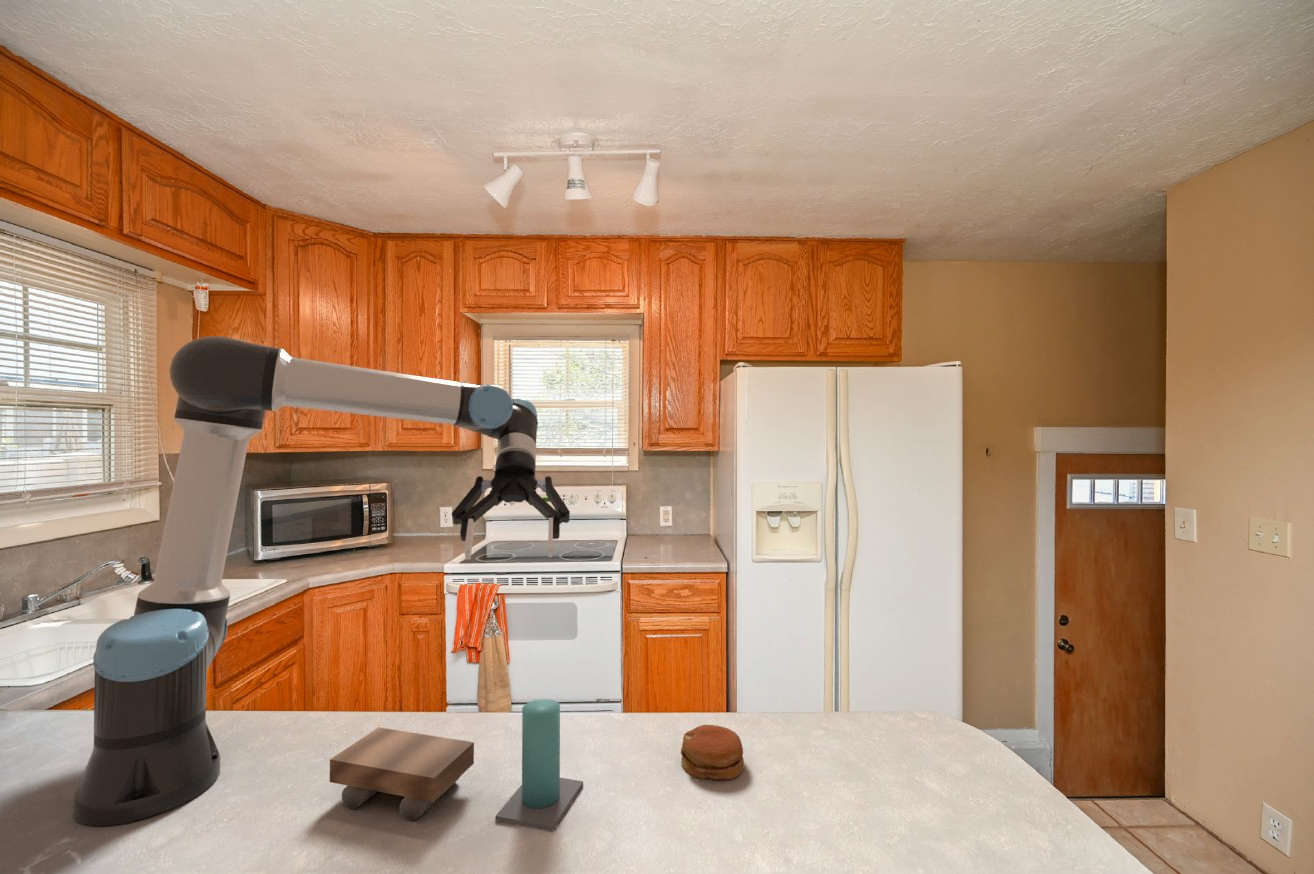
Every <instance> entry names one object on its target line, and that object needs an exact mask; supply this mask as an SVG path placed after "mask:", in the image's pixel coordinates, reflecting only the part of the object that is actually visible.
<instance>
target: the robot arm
mask: <svg viewBox="0 0 1314 874" xmlns="http://www.w3.org/2000/svg"><path fill="white" fill-rule="evenodd" d="M169 378H170V383H171V385H172V387H173V388H174V391H175V392H176V393H177V395H178V397H177V401H176V402H177V403H176V408H175V413H174V416H173V420H174V422H175V423H176V424H177V425H178V426H179V427H180V428H181V429H182V431H183V436H182V440H181V446H180V450H179V455H178V461H177V465H176V469H175V475H174V479H173V485H172V489H171V494H170V498H169V502H168V503H169V504H168V510H167V514H166V518H165V524H164V529H163V533H162V537H161V544H160V549H159V553H158V558H157V563H156V567H155V573H154V578H153V581H152V583H151V584H149V585H147V586H146V587H145V588H143V589H142V590H140V591H139V592H138V593H137V599H136V604H135V608H134V612H133V615H132V616H130V617H129V618H126V619H121V620H119V621H116V622H115V623H113V624H111V625H110V626H108V627H106V629H104V630H103V631H102V632H101V634H100V635H99V636H98V638H97V640H96V644H95V645H96V646H95V651H94V653H93V657H92V659H93V662H92V663H93V664H92V665H93V667H94V693H93V694H94V695H93V697H94V699H93V701H94V703H93V704H94V705H93V748H92V751H91V755H90V757H89V759H88V762H87V764H86V767H85V769H84V772H83V774H82V777H81V780H80V783H79V785H78V787H77V789H76V790H75V793H74V797H73V817H74V819H75V821H77V822H78V823H79V824H82V825H87V826H93V827H94V826H95V827H98V826H99V827H101V826H103V827H104V826H114V825H115V826H116V825H121V824H126V823H131V822H136V821H139V820H143V819H147V818H151V817H153V816H156V815H159V814H162V813H164V812H167V811H170V810H172V809H174V808H175V809H176V807H179V806H181V805H183V804H186V803H187V802H189V801H190V800H193V799H194V798H196V797H198V796H199V795H201V794H202V793H203V792H205V791H206V790H208V789H209V788H210V787H212V785H213V784H215V782H216V781H217V780H218V778H219V776H220V773H221V756H220V755H221V754H220V752H219V750H218V747H217V745H216V742H215V739H214V738H213V736H212V733H211V731H210V729H209V726H208V724H207V720H206V715H207V712H206V711H207V675H208V670H209V668H210V666H211V664H212V662H213V660H214V659H215V657H216V655H217V654H218V653H219V651H220V650H221V648H222V645H223V644H224V642H225V640H226V637H227V633H228V619H227V614H228V608H229V604H230V599H231V590H229V588H227V587H226V586H225V585H224V584H223V582H222V581H223V575H224V571H225V565H226V560H227V555H228V551H229V546H230V545H229V544H230V539H231V536H232V535H231V533H232V529H233V524H234V519H235V518H234V517H235V513H236V508H237V505H238V504H237V503H238V500H239V499H238V497H239V493H240V489H241V483H242V477H243V472H244V467H245V464H246V463H245V461H246V456H247V451H248V446H249V442H250V440H251V439H252V438H254V437H255V436H257V435H258V434H260V433H262V431H263V426H264V421H265V415H266V411H269V412H277V411H278V410H279V409H281V408H283V407H290V408H291V407H293V408H301V409H310V410H319V411H327V412H328V411H329V412H337V413H345V414H346V413H347V414H355V415H363V416H373V417H380V418H381V417H382V418H390V419H391V418H392V419H400V420H407V421H408V420H410V421H417V422H427V423H436V424H444V425H445V424H447V425H451V426H452V427H453V426H454V427H459V428H462V429H465V430H468V431H471V432H474V433H478V434H481V435H484V436H486V437H488V438H491V439H495V440H498V441H497V450H496V459H495V467H494V468H495V469H494V476H493V477H492V479H491V480H487V479H484V478H483V476H477V477H476V478H475V482H474V485H473V486H472V488H470V490H469V492H467V494H466V495H465V496H464V497H463V498H462V500H461V501H460V502H459V504H458V505H457V506H456V507H455V508H454V509H453V510H452V512H451V517H452V523H453V524H454V525H460V530H459V531H460V532H459V535H460V539H461V542H464V543H465V544H464V549H463V551H464V558H465V560H466V561H468V560H469V561H470V560H471V558H472V552H473V551H472V549H473V543H474V542H473V540H474V536H475V535H474V534H475V522H477V521H478V520H479V519H481V517H483V516H484V515H485V514H487V512H489V511H490V510H491V509H492V508H493V507H495V506H498V505H499V504H500V503H502V502H504V503H512V502H513V503H514V502H515V503H523V502H524V501H525V502H527V504H529V506H533V507H534V508H535V509H536V510H537V511H538V512H539V514H540V515H542V516H543V517H544V518H545V519H546V520H547V521H548V530H547V531H548V535H547V536H548V537H547V538H548V539H547V540H548V541H547V543H548V544H547V546H548V547H547V549H548V550H547V555H548V556H547V557H548V558H553V555H554V553H553V552H554V544H553V543H554V540H559V538H560V533H561V532H560V531H561V529H560V528H561V526H560V525H561V524H562V523H566V524H568V523H569V522H570V514H571V512H570V510H569V508H568V507H567V505H566V503H565V502H564V500H563V499H562V498H561V496H560V494H559V493H558V492H557V490H556V488H555V487H554V485H553V481H552V477H551V476H550V475H548V476H544V479H539V480H537V479H536V466H537V465H536V462H537V461H536V459H537V436H538V435H537V433H538V425H539V423H538V413H537V409H536V406H535V405H534V404H533V403H532V402H531V401H529V400H528V399H525V398H515V397H513V398H512V397H511V395H510V394H509V392H508V391H507V390H505V389H504V388H503V387H501V386H499V385H495V384H488V383H487V384H483V385H477V384H473V383H472V384H471V383H465V382H464V383H463V382H459V381H454V380H453V381H452V380H446V379H439V378H432V377H426V376H418V375H413V374H406V373H400V372H399V373H398V372H393V371H386V370H379V369H374V368H373V369H372V368H368V367H367V368H366V367H361V366H353V365H346V364H339V363H332V362H325V361H319V360H313V359H312V360H311V359H308V358H300V357H292V356H291V355H289V354H288V352H286V351H285V349H283V348H280V347H279V348H278V347H273V346H267V345H261V344H257V343H252V342H247V341H243V340H241V339H236V338H231V337H227V336H219V335H217V336H216V335H212V336H204V337H199V338H196V339H193V340H191V341H189V342H187V343H186V344H184V345H183V346H181V347H180V348H179V349H178V350H177V352H176V353H175V354H174V356H173V357H172V359H171V362H170V365H169ZM538 488H539V489H540V490H541V491H542V492H543V493H545V494H546V497H547V498H548V500H549V501H550V503H548V502H547V501H546V500H545V499H543V497H542V496H541V495H539V494H538V493H537V489H538ZM488 489H491V490H489V493H488V494H487V495H485V496H484V497H483V498H482V499H481V500H479V499H480V498H481V497H482V495H483V494H484V493H486V491H487V490H488ZM550 504H551V505H550Z"/></svg>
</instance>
